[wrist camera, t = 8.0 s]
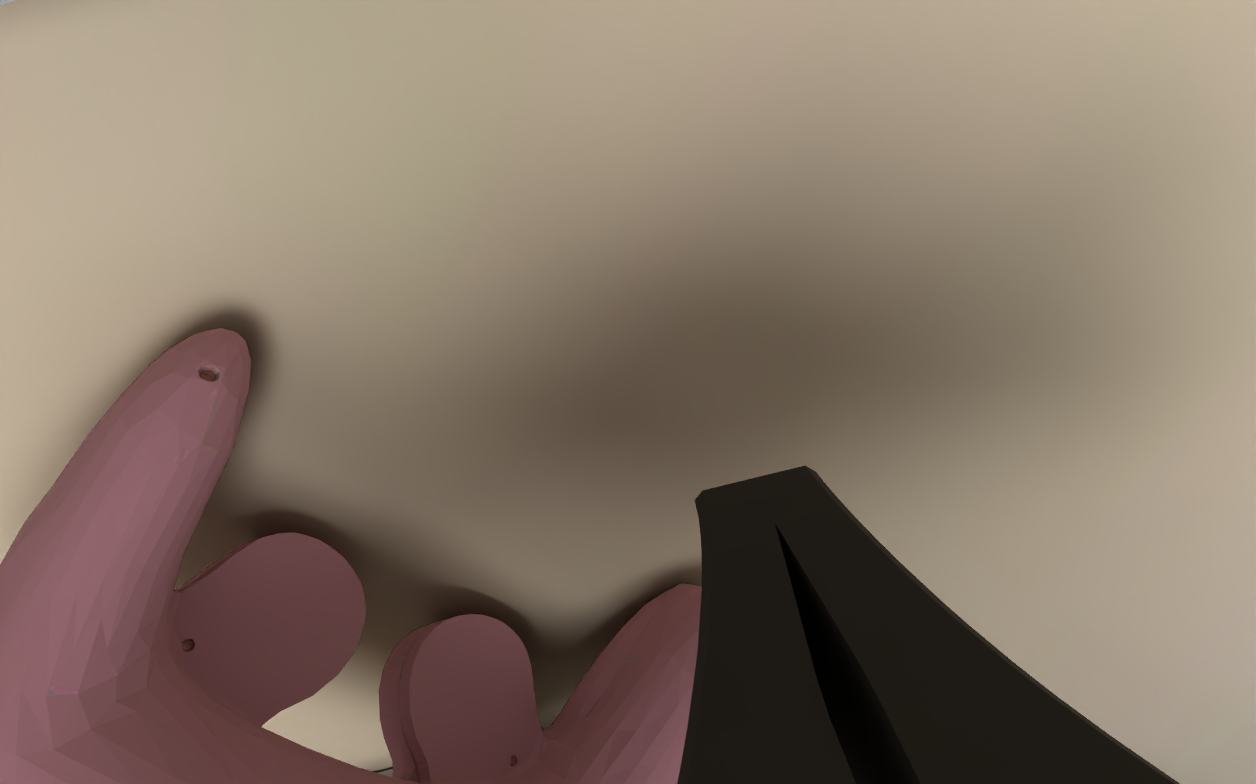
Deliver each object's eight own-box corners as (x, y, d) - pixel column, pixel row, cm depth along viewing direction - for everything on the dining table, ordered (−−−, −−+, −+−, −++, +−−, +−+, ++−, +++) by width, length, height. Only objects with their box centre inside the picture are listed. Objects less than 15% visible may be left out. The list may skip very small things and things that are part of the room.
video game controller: (110, 401, 13) (-247, 933, 9) (190, 269, 10) (-311, 1009, 6) (597, 630, 17) (508, 1053, 13) (762, 593, 14) (709, 1133, 10)
